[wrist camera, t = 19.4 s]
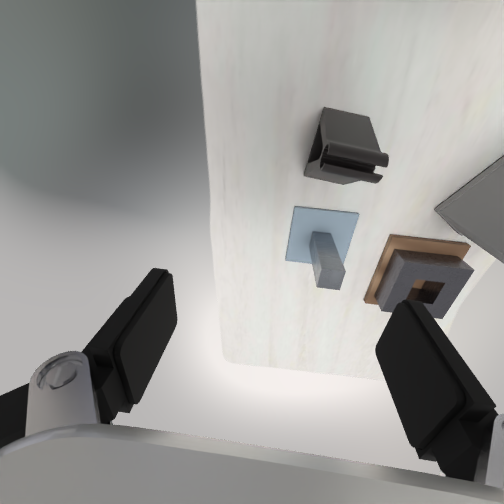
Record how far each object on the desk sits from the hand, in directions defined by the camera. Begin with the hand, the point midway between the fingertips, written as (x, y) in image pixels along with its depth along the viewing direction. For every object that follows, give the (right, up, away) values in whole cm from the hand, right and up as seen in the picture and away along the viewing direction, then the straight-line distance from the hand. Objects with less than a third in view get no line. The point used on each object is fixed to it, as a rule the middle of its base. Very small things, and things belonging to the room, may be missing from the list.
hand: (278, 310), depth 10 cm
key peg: (+10, +4, +31) cm, 33 cm away
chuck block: (+27, -1, +33) cm, 42 cm away
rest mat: (+10, +5, +31) cm, 33 cm away
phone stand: (+10, +17, +24) cm, 32 cm away
